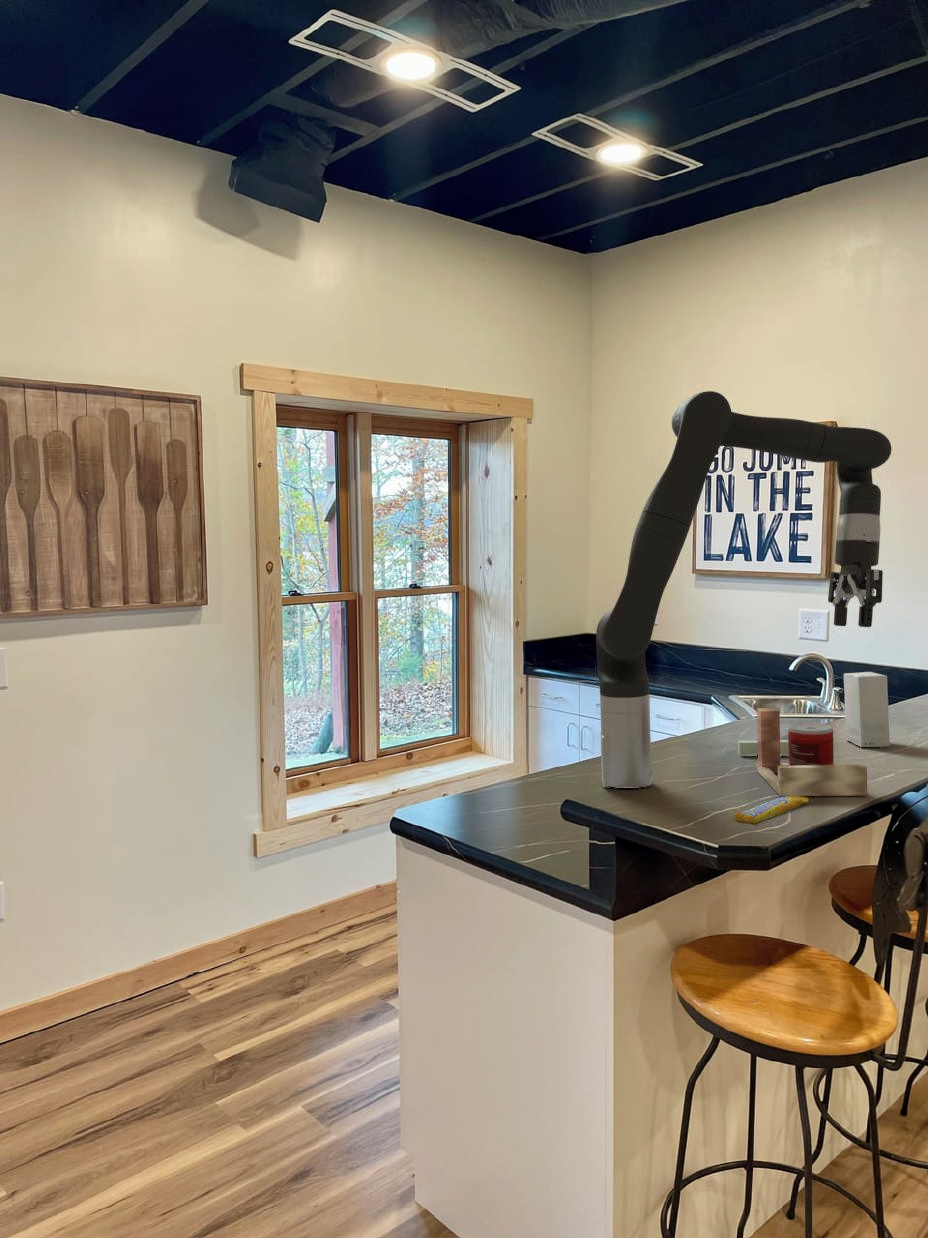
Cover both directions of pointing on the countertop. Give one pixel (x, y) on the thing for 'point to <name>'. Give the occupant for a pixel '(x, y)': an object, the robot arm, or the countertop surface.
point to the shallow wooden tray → (802, 766)
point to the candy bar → (770, 809)
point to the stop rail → (752, 747)
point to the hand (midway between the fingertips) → (852, 626)
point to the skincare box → (866, 709)
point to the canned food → (810, 744)
